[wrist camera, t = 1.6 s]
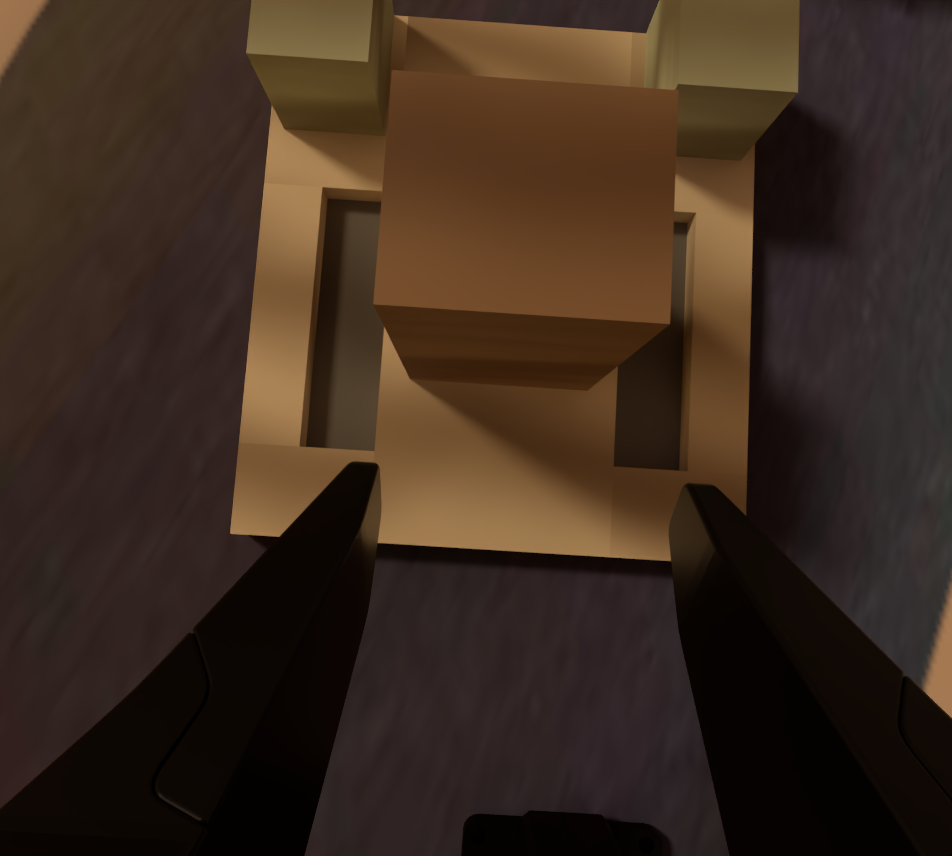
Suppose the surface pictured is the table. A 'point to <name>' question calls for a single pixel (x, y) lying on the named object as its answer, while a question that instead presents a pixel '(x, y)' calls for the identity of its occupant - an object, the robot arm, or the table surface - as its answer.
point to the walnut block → (524, 227)
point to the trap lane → (484, 405)
